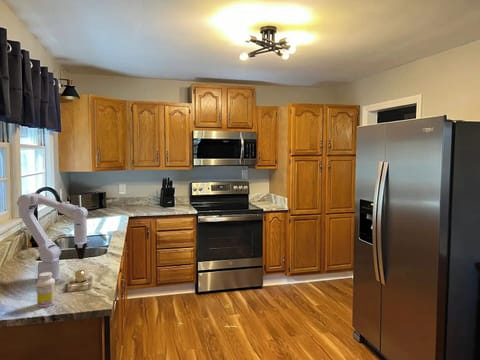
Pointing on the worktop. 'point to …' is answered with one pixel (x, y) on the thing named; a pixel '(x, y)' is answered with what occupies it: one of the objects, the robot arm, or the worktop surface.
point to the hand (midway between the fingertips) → (81, 258)
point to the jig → (80, 284)
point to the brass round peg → (79, 276)
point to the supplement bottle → (46, 290)
